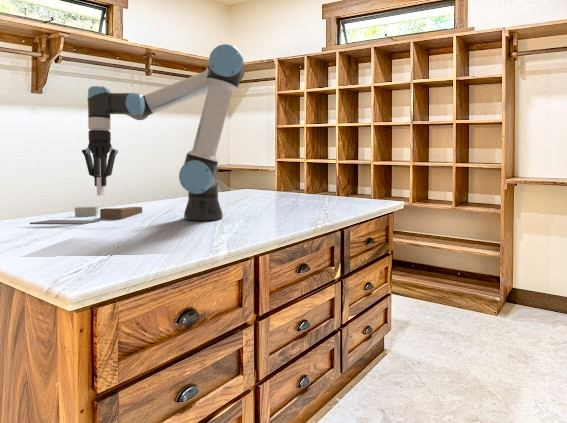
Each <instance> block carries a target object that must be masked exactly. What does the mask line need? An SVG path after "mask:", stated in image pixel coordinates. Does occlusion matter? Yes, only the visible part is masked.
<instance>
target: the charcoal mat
mask: <svg viewBox="0 0 567 423" xmlns="http://www.w3.org/2000/svg"><path fill="white" fill-rule="evenodd" d="M101 220H102V219H100V220H99V219H97V220H96V219H95V220H94V219H93V220H92V219H88V220H87V219H48V220H41V221H33V222H29V224H30V225H47V224H48V225H86V224H94V223H99V221H100V222H101Z"/></svg>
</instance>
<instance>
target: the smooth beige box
mask: <svg viewBox="0 0 567 423" xmlns="http://www.w3.org/2000/svg"><path fill="white" fill-rule="evenodd" d="M94 215H96V216H97V215H99V206H98V205H96V206H76V207H74V217H75V216H78V217H95V216H94Z"/></svg>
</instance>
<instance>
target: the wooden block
mask: <svg viewBox="0 0 567 423" xmlns="http://www.w3.org/2000/svg"><path fill="white" fill-rule="evenodd" d="M142 213H143V207H142V206H128V207H118V208H117V207H116V208H108V207H107V208H105V207H104V208H100V209H99V215H100V216H99V218H100V220H123V219H127V218H130V217H133V216H137V215H140V214H142Z"/></svg>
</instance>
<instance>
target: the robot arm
mask: <svg viewBox="0 0 567 423" xmlns="http://www.w3.org/2000/svg"><path fill="white" fill-rule="evenodd" d="M208 57H209V59H208V64H209V66H207V67H206V69H205V70H204V71H202V72H200V73H199V72H198V73H197V74H194V75H192V76H190V77H186V78H184V79H182V80H180V81H179V80H178V81H177V82H174V83H171V84H170V85H169V84H168V85H167V86H164V87H162V88H159V89H157V90H154V91H152V92H150V93H147V94H145V95H143V94H141V93H135V92H111V90H110V88H109V87H107V86H103V85H102V86H99V85H92V86H90V87H89V88H88V90H87V110H88V111H87V113H88V114H87V115H88V116H87V118H88V120H87V122H88V123H87V124H88V126H87V128H88V132H87V134H88V145H87V147H86V148H85V149H82V150H81V153H82V154H83V156H84V158H85V163H86V168H87V171H88V172H87V173H88V175H89V176H91V177H93V178H94V187H96V196H97V197H98V196H100V197H101V196H105V187H107V177H109V176H110V177H111V176H112V175H113V174H112V173H113V168H114V164H115V160H116V156H117V155H118V152H119V151H118V149H115V148H113V146H112V143H111V141H112V138H111V134H112V133H111V131H110V130H111V115H126V116H128V117H129V118H132V119H134V120H137V121H143V120H146V119H147V118H148V117H149V116H151V115H152V114H155V113H157V112H160V111H163V110H166V109H169V108H171V107H173V106H175V105H177V104H181V103H183V102H186V101H188V100H189V101H190V100H191V99H193V98H196V97H198V96H202V95H203V94H206V96H205V100H204V104H203V108H202V110H201V111H202V112H201V115H200V118H199V123H198V127H197V130H196V134H195V138H194V142H193V146H192V149H191V150H190V151H188V152H187V153H186V155H185V159H184V163H183V165H182V166H181V168H180V169H179V172H178V174H179V175H178V180H179V183H180V185H181V186H182V188H183V189H184V190H186V191H187V192H188V193H187V194H188V195H187V196H188V198H187V199H188V200H187V204H186V207H185V209H184V212H183V219H184V220H187V221H213V220H214V221H215V220H216V221H218V220H223V218H224V217H223V216H224V215H223V210H222V208H221V205H220V202H219V173H218V172H219V167H218V163H219V161H218V158H217V156H216V155H217V150H218V147H219V142H220V141H221V136H222V132H223V128H224V125H225V120H226V117H227V114H228V113H227V112H228V110H229V105H230V102H231V98H232V96H233V93H234V92H235V91H237V90H238V88H239V84H240V82H241V81H242V79H243V78H244V76H245V72H246V68H245V67H246V66H245V62H244V57H243V55H242V52H241V51H240V50H239V49H238V48H237V47H236V46H234V45H232V44H227V43H224V44H219V45H218V46H216V47H215V48H213V49H212V50H211V52H210V54H209V56H208ZM91 154H92V155H91ZM108 154H109V155H108Z"/></svg>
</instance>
